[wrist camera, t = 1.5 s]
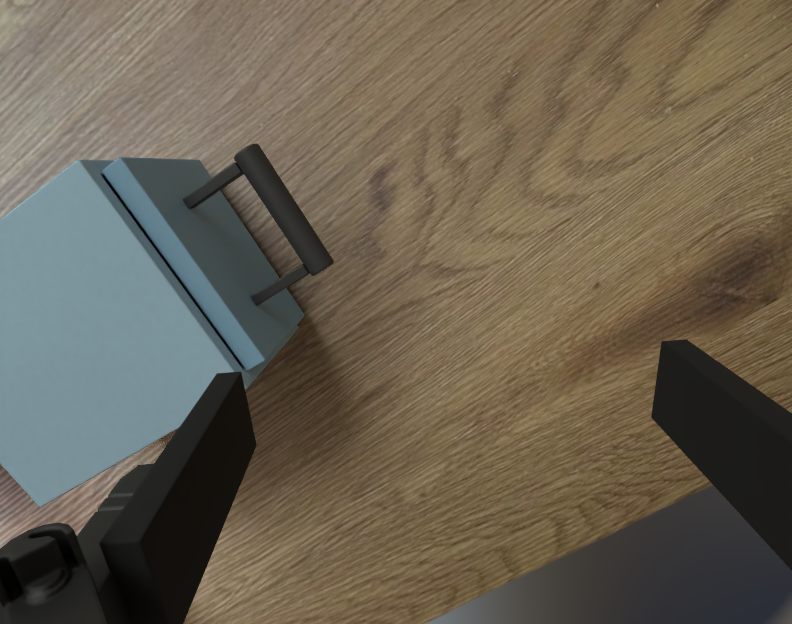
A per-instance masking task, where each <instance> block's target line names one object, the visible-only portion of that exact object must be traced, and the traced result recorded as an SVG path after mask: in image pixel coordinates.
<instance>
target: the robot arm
mask: <svg viewBox="0 0 792 624" xmlns="http://www.w3.org/2000/svg"><path fill="white" fill-rule="evenodd" d="M651 417H652V419H653V420H654V421H655V422H656V423H657V424H658V425H659V426H660V427H661V428H662V429H663V431H664V432H665V433H666V434H667V435H668V436H669V437H670V438H671V439H672V440H673V441H674V442H675V444H676V445H677V446H678V447H679V448H680V449H681V450H682V451H683V452H684V453H685V454H686V456H687V457H688V458H689V459H690V460H691V461H692V462H693V463H694V464H695V465H696V466H697V468H698V469H699V470H700V471H701V472H702V473H703V474H704V475H705V476H706V477H707V478H708V480H709V481H710V482H711V483H712V484H713V485H714V486H715V487H716V488H717V489H718V490H719V492H720V493H721V494H722V495H723V496H724V497H725V498H726V499H727V500H728V501H729V502H730V504H731V505H732V506H733V507H735V509H736V510H737V511H738V512H739V513H740V514H741V516H742V517H744V519H745V520H746V521H747V522H748V523H749V524H750V525H751V526H752V527H753V529H755V531H756V532H757V533H758V534H759V535H760V536H761V537H762V538H763V539H764V541H766V543H767V544H768V545H769V546H770V547H771V548H772V549H773V550H774V551H775V553H776V554H777V555H778V556H779V557H780V558H781V559H782V560H783V561H784V562H785V563H786V565H787V566H788V567H789V568H790V569H791V570H792V413H790V412H789V411H787V410H786V409H784V408H783V407H782V406H780V405H779V404H777V403H776V402H774V401H773V400H772V399H770V398H769V397H767V396H766V395H765V394H763V393H762V392H760V391H759V390H757V389H756V388H755V387H753V386H752V385H750V384H749V383H747V382H746V381H745V380H743V379H742V378H740V377H739V376H738V375H736V374H735V373H733V372H732V371H730V370H729V369H728V368H726V367H725V366H723V365H722V364H720V363H719V362H718V361H716V360H715V359H713V358H712V357H710V356H709V355H708V354H706V353H705V352H703V351H702V350H701V349H699V348H698V347H696V346H695V345H693V344H692V343H691V342H689V341H688V340H674V341H662V343H661V350H660V358H659V365H658V372H657V380H656V387H655V394H654V402H653V409H652V416H651ZM255 448H256V440H255V435H254V431H253V426H252V421H251V416H250V411H249V407H248V402H247V397H246V392H245V387H244V382H243V378H242V373H241V372H228V373H217V374H216V375H215V377H214V378H213V380H212V381H211V383H210V384H209V385H208V387H207V388H206V390H205V391H204V393H203V394H202V396H201V397H200V398H199V400H198V401H197V403H196V404H195V406H194V407H193V409H192V410H191V411H190V413H189V414H188V416H187V417H186V419H185V420H184V421H183V423H182V424H181V426H180V427H179V429H178V430H177V432H176V433H175V434H174V436H173V437H172V439H171V440H170V442H169V443H168V445H167V446H166V447H165V449H164V450H163V452H162V453H161V455H160V456H159V458H158V459H157V460H156V462H155V463H154V464H146V465H138V466H137V467H136V468H134V469H133V470H132V471H130V472H129V473H128V474H127V475H125V476H124V477H123V478H121V479H120V480H119V482H118V483H117V484H116V486H115V487H114V488H113V490H112V491H111V492H110V494H109V495H108V498H106V499H105V500H104V501H103V503H102V504H101V505H100V507H99V508H98V512H95V513H94V515H93V516H92V517H91V519H90V520H89V521H88V523H87V524H86V525H85V527H84V528H83V529H82V530H81V532H80V533H79V534H78V536H77V537H76V534H75V532H74V530H73V529H72V528H71V527H70V526H69V525H67V524H62V523H53V524H46V525H42V526H39V527H37V528H34V529H31V530H28V531H26V532H25V533H23V534H21V535H19V536H17V537H16V538H14V539H12V540H11V541H10V542H8V543H7V544H6V545H5V546H3V547H2V548H1V549H0V624H183V623H184V620H185V618H186V615H187V613H188V611H189V608H190V606H191V603H192V601H193V598H194V596H195V594H196V591H197V589H198V586H199V584H200V581H201V579H202V577H203V574H204V572H205V569H206V567H207V564H208V562H209V560H210V557H211V555H212V552H213V550H214V547H215V545H216V542H217V540H218V538H219V535H220V533H221V530H222V528H223V525H224V523H225V521H226V518H227V516H228V513H229V511H230V508H231V506H232V504H233V501H234V499H235V496H236V494H237V491H238V489H239V487H240V484H241V482H242V479H243V477H244V474H245V472H246V470H247V467H248V465H249V462H250V460H251V457H252V455H253V452H254V450H255Z"/></svg>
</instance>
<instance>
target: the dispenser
mask: <svg viewBox="0 0 792 624" xmlns="http://www.w3.org/2000/svg"><path fill="white" fill-rule="evenodd" d="M114 161H115V160H77V161H75V162H74V163H73V164H71V165H70V166H69V167H68V168H66V169H65V170H64V171H62V172H61V173H60V174H59V175H57V176H56V177H55V178H53V179H52V180H51V181H50V182H48V183H47V184H46V185H44V186H43V187H42V188H40V189H39V190H38V191H37V192H35V193H34V194H33V195H31V196H30V197H29V198H28V199H26V200H25V201H24V202H22V203H21V204H20V205H19V206H17V207H16V208H15V209H13V210H12V211H11V212H10V213H8V214H7V215H6V216H4V217H3V218H2V219H0V464H1V465H2V466H3V467H4V468H5V469H6V471H7V472H8V473H9V474H10V475H11V476H12V477H13V478H14V479H15V481H16V482H17V483H18V484H19V485H20V486H21V487H22V488H23V489H24V490H25V492H26V493H27V494H28V495H29V496H30V497H31V498H32V499H33V500H34V502H35V503H36V504H37V505H38V506H39V507H42V506H44V505H46V504H47V503H49V502H51V501H53V500H54V499H56V498H58V497H60V496H61V495H63V494H65V493H67V492H68V491H70V490H72V489H74V488H75V487H77V486H79V485H81V484H82V483H84V482H86V481H88V480H89V479H91V478H93V477H95V476H96V475H98V474H100V473H101V472H103V471H105V470H107V469H108V468H110V467H112V466H114V465H115V464H117V463H119V462H121V461H122V460H124V459H126V458H128V457H129V456H131V455H133V454H135V453H136V452H138V451H140V450H142V449H143V448H145V447H147V446H149V445H150V444H152V443H154V442H155V441H157V440H159V439H161V438H162V437H164V436H166V435H168V434H169V433H171V432H173V431H175V430H176V429H178V428H179V427H180V426H181V424H182V423H183V421H184V420H185V419H186V417H187V416H188V414H189V413H190V411H191V410H192V409H193V407H194V406H195V404H196V403H197V401H198V400H199V398H200V397H201V396H202V394H203V393H204V391H205V390H206V388H207V387H208V385H209V384H210V383H211V381H212V380H213V378H214V377H215V375H216V374H217V373H228V372H241V373H242V378H243V382H244V387H245V390H246V389H247V388H248V387H249V386H250V385H251V383H252V382H253V381H254V380H255V379H256V378H257V377H258V375H259V374H260V373H261V372H262V371H263V370H264V368H265V367H266V366H267V365H268V364H269V363H270V361H271V360H272V359H273V358H274V357H275V355H276V354H277V353H278V352H279V351H280V350H281V348H282V347H283V346H284V345H285V344H286V343H287V341H288V340H289V339H290V338H291V337H292V336H293V334H294V333H295V332H296V331H297V330H298V328H299V326H298V325H296V326H295V328H294V329H293V330H292V331H291V332H290V333H289V334H288V335H287V337H286V338H285V339H284V340H283V341H282V342H281V343H280V345H279V346H278V347H277V348H276V349H275V350H274V351H273V352H272V354H271V355H270V356H269V357H268V358H267V359H266V360H265V361H264V362H262V363H261V364H259V365H257V366H256V367H254V368H252V369H250V370H249V371H247V370H246V369H245V367H244V366H243V365H242V363H241V362H240V361H239V359H238V358H237V357H236V356H235V357H233V355H232V354H231V353H230V351H229V350H228V348H227V347H226V346H225V344H224V343H223V342H222V340H221V339H220V338H219V336H218V335H217V333H216V332H215V331H214V329H213V328H212V327H211V325H210V324H209V322H208V321H207V320H206V318H205V317H204V316H203V314H202V313H201V311H200V310H199V309H198V307H197V306H196V305H195V303H194V302H193V301H192V299H191V298H190V296H189V295H188V294H187V292H186V291H185V290H184V288H183V287H182V285H181V284H180V283H179V281H178V280H177V279H176V277H175V276H174V275H173V273H172V272H171V270H170V269H169V268H168V266H167V265H166V264H165V262H164V261H163V259H162V258H161V257H160V255H159V254H158V253H157V251H156V250H155V248H154V247H153V246H152V244H151V243H150V242H149V240H148V239H147V238H146V236H145V235H144V233H143V232H142V231H141V229H140V228H139V227H138V225H137V224H136V222H135V221H134V220H133V218H132V217H131V216H130V214H129V213H128V212H127V210H126V209H125V207H124V206H123V205H122V203H121V202H120V201H119V199H118V198H119V197H120V196H119V195H118V193H117V192H116V190H115V189H114V188H113V186H112V185H111V184H110V182H109V181H108V179H107V178H106V177H105V175H104V174H103V173H102V170H103V169H105V168H106V167H107V166H109V165H110V164H111V163H112V162H114Z"/></svg>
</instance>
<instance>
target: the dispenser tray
mask: <svg viewBox="0 0 792 624" xmlns="http://www.w3.org/2000/svg"><path fill="white" fill-rule="evenodd" d="M234 159H235V161H236V162H237V163H233V164H232V165H230V166H229V167H227V168H226V169H224V170H223V171H222V172H220V173H219V174H217V175H216V176H215V177H213V178H211V176H210V175H209V173H208V172H207V170H206V169H205V167H204V166H203V164H202V163H201V161H200V160H186V159H158V158H131V157H119V158H118V159H116V160H115V161H114V162H112V163H111V164H110V165H109V166H107V167H106V168H105V169H103V170H102V173H103V174H104V175H105V177H106V178H107V179H108V181H109V182H110V184H111V185H112V186H113V188H114V189H115V190H116V192H117V193H118V195H119V196H120V197H119V198H118V199H119V201H120V202H121V203H122V205H123V206H124V207H125V209H126V210H127V212H128V213H129V214H130V216H131V217H132V218H133V220H134V221H135V222H136V224H137V225H138V227H139V228H140V229H141V231H142V232H143V233H144V235H145V236H146V238H147V239H148V240H149V242H150V243H151V244H152V246H153V247H154V248H155V250H156V251H157V253H158V254H159V255H160V257H161V258H162V259H163V261H164V262H165V264H166V265H167V266H168V268H169V269H170V270H171V272H172V273H173V275H174V276H175V277H176V279H177V280H178V281H179V283H180V284H181V285H182V287H183V288H184V290H185V291H186V292H187V294H188V295H189V296H190V298H191V299H192V301H193V302H194V303H195V305H196V306H197V307H198V309H199V310H200V311H201V313H202V314H203V316H204V317H205V318H206V320H207V321H208V322H209V324H210V325H211V327H212V328H213V329H214V331H215V332H216V333H217V335H218V336H219V338H220V339H221V340H222V342H223V343H224V344H225V346H226V347H227V348H228V350H229V351H230V353H231V354H232V355H233V357H235V356H236V357H237V358H238V359H239V361H240V362H241V363H242V365H243V366H244V367H245V369H246V370H247V371H249V370H250V369H252V368H254V367H256V366H257V365H259V364H261V363H262V362H264V361H265V360H266V359H267V358H268V357H269V356H270V355H271V354H272V352H273V351H274V350H275V349H276V348H277V347H278V346H279V345H280V343H281V342H282V341H283V340H284V339H285V338H286V337H287V335H288V334H289V333H290V332H291V331H292V330H293V329H294V328H295V326H296V325H297V324H298V323H299V322H300V321H301V320H302V318H303V317H304V316H305V315H304V313H303V312H302V310H301V309H300V307H299V306H298V304H297V303H296V301H295V300H294V298H293V297H292V295H291V294H290V293H289V291H288V290H287V287H289V286H290V285H292V284H293V283H295V282H297V281H298V280H300V279H302V278H303V277H305V276H306V275H308V274H309V273H310V274H311V275H312V276H314V275H316V274H318V273H319V272H321V271H323V270H324V269H326V268H327V267H329V266H330V265H332V264H333V262H334V261H333V259H332V258H331V256H330V255H329V253H328V251H327V250H326V248H325V247H324V245H323V244H322V242H321V241H320V239H319V238H318V236H317V234H316V233H315V231H314V230H313V228H312V227H311V225H310V224H309V222H308V220H307V219H306V217H305V216H304V214H303V213H302V211H301V210H300V208H299V207H298V205H297V203H296V202H295V200H294V199H293V197H292V196H291V194H290V193H289V191H288V190H287V188H286V186H285V185H284V183H283V182H282V180H281V179H280V177H279V176H278V174H277V172H276V171H275V169H274V168H273V166H272V165H271V163H270V162H269V160H268V159H267V157H266V155H265V154H264V152H263V151H262V149H261V148H260V146H259V145H258V144H252V145H249V146H247V147H245V148H244V149H242V150H241V151H239V152H238V153H237V154H236V155H235V157H234ZM243 174H245V176H246V177H247V179H248V180H249V182H250V183H251V185H252V186H253V188H254V190H255V191H256V193H257V194H258V196H259V197H260V199H261V200H262V202H263V203H264V205H265V206H266V208H267V209H268V211H269V212H270V214H271V215H272V217H273V218H274V220H275V221H276V223H277V224H278V226H279V227H280V229H281V230H282V232H283V233H284V235H285V236H286V238H287V239H288V241H289V242H290V244H291V245H292V247H293V248H294V250H295V251H296V253H297V255H298V256H299V258H300V259H301V261H302V262H303V264H302V265H300V266H299V267H297V268H295V269H294V270H292V271H291V272H289V273H287V274H286V275H284V276H283V277H281V278H279V276H278V275H277V273H276V272H275V270H274V269H273V267H272V266H271V264H270V263H269V262H268V260H267V259H266V257H265V256H264V254H263V253H262V251H261V250H260V248H259V247H258V245H257V244H256V242H255V241H254V239H253V238H252V236H251V235H250V234H249V232H248V231H247V229H246V228H245V226H244V225H243V223H242V222H241V220H240V219H239V217H238V216H237V214H236V213H235V211H234V210H233V208H232V207H231V206H230V204H229V203H228V201H227V200H226V198H225V197H224V195H223V194H222V192H221V191H220V190H221V189H223V188H224V187H226V186H227V185H228V184H230V183H231V182H233V181H234V180H236V179H237V178H239V177H240V176H241V175H243Z"/></svg>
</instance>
